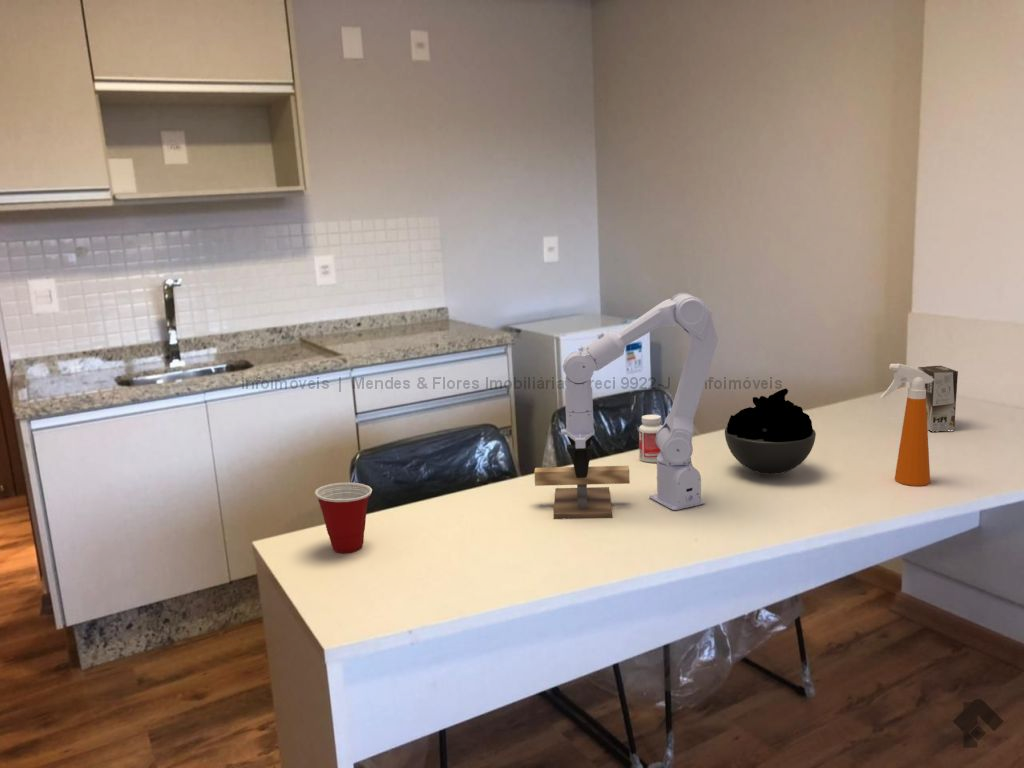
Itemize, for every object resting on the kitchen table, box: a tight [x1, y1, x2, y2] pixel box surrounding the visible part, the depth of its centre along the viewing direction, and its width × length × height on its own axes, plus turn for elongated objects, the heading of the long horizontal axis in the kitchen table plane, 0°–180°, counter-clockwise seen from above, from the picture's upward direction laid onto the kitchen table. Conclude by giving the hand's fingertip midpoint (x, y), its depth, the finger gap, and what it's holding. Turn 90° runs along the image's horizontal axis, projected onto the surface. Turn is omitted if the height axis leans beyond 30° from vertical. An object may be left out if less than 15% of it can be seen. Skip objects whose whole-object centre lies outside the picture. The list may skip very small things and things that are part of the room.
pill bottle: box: [638, 414, 663, 463], centre depth 204 cm, size 6×6×11 cm
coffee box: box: [918, 365, 959, 432], centre depth 218 cm, size 9×6×16 cm
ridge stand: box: [553, 485, 613, 520], centre depth 176 cm, size 16×12×5 cm
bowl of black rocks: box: [724, 388, 817, 475], centre depth 189 cm, size 20×20×19 cm
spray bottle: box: [879, 363, 934, 487], centre depth 178 cm, size 7×11×26 cm, turn 78°
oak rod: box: [534, 465, 630, 487], centre depth 175 cm, size 20×3×3 cm, turn 86°
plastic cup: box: [314, 482, 373, 554], centre depth 159 cm, size 11×11×12 cm
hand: (581, 471), depth 175 cm, fingers open, 7 cm apart
